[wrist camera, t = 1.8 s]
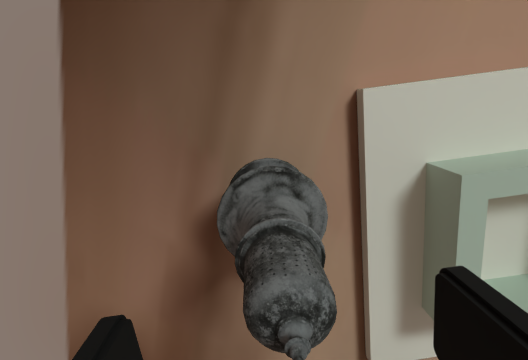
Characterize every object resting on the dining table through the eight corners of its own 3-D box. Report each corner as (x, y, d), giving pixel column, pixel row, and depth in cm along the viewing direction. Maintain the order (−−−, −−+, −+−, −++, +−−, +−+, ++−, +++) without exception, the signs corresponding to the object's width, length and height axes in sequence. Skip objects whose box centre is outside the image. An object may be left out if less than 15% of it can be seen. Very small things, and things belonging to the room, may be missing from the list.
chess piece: (231, 144, 17) (197, 233, 6) (323, 163, 18) (456, 277, 6) (215, 231, 19) (163, 437, 7) (301, 245, 20) (376, 457, 8)
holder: (356, 89, 17) (388, 86, 13) (652, 50, 17) (768, 36, 13) (365, 354, 22) (389, 407, 19) (589, 322, 23) (658, 367, 19)
